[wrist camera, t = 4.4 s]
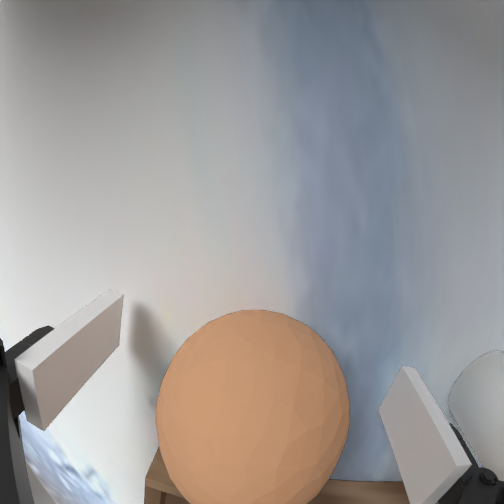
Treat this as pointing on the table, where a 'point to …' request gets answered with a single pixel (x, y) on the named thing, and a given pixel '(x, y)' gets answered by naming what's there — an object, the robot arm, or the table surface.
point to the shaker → (482, 409)
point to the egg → (252, 412)
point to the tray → (327, 500)
